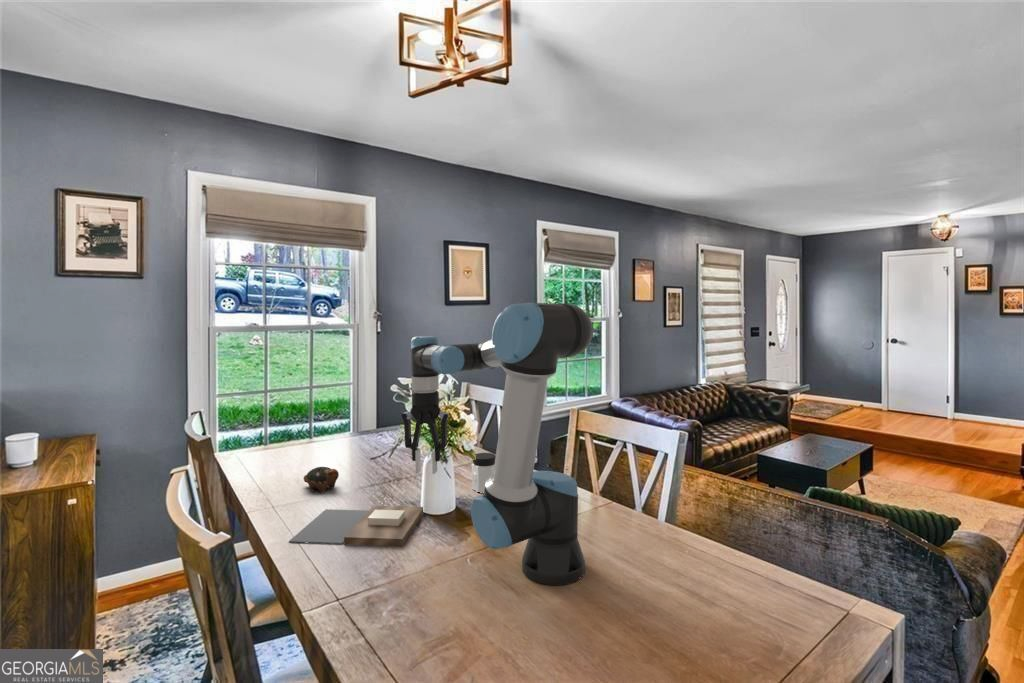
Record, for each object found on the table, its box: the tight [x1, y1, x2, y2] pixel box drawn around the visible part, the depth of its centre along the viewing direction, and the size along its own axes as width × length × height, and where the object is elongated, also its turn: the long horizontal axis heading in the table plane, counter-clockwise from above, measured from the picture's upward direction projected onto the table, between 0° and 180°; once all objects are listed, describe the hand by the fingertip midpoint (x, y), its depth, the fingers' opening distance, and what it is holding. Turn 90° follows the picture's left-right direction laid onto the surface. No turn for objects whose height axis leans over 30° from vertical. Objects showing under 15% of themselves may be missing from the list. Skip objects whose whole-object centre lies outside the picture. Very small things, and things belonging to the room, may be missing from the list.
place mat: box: [288, 508, 370, 545], centre depth 145 cm, size 15×22×1 cm
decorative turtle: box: [303, 466, 340, 493], centre depth 176 cm, size 10×15×8 cm, turn 71°
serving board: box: [343, 505, 424, 547], centre depth 143 cm, size 16×22×2 cm
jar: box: [471, 452, 496, 492], centre depth 174 cm, size 9×8×12 cm
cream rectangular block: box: [368, 510, 405, 526], centre depth 143 cm, size 9×6×2 cm, turn 85°
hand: (426, 471), depth 142 cm, fingers open, 4 cm apart
